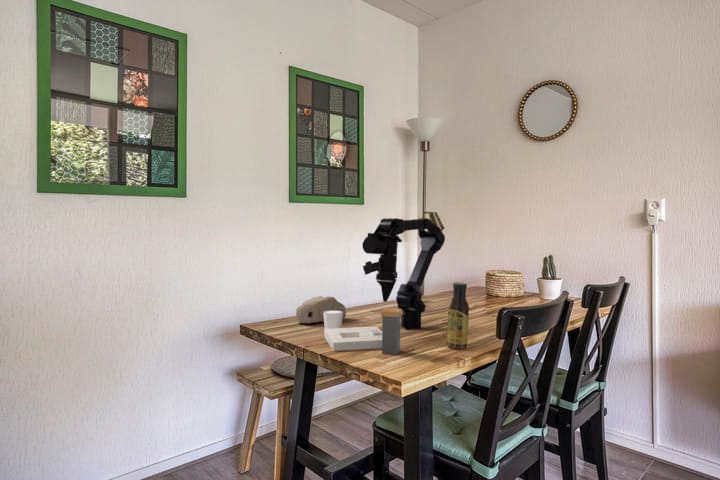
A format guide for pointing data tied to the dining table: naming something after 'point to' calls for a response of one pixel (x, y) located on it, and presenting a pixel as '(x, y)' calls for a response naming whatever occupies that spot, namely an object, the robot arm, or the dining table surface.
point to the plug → (391, 330)
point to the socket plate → (354, 338)
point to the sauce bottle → (458, 318)
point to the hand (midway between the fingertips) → (385, 300)
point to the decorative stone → (318, 309)
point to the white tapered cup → (333, 319)
